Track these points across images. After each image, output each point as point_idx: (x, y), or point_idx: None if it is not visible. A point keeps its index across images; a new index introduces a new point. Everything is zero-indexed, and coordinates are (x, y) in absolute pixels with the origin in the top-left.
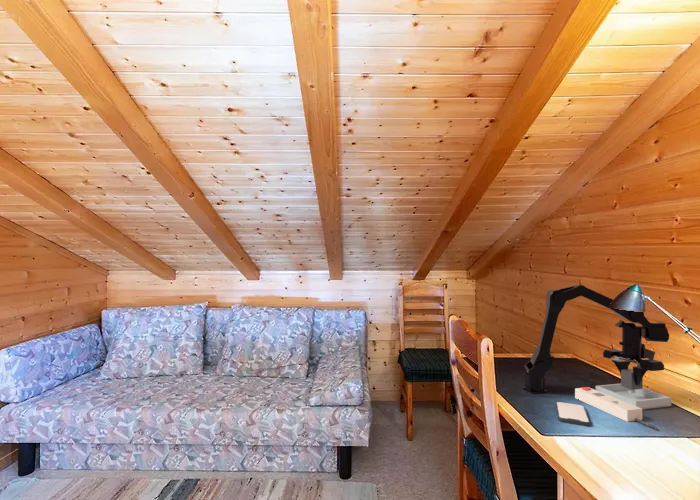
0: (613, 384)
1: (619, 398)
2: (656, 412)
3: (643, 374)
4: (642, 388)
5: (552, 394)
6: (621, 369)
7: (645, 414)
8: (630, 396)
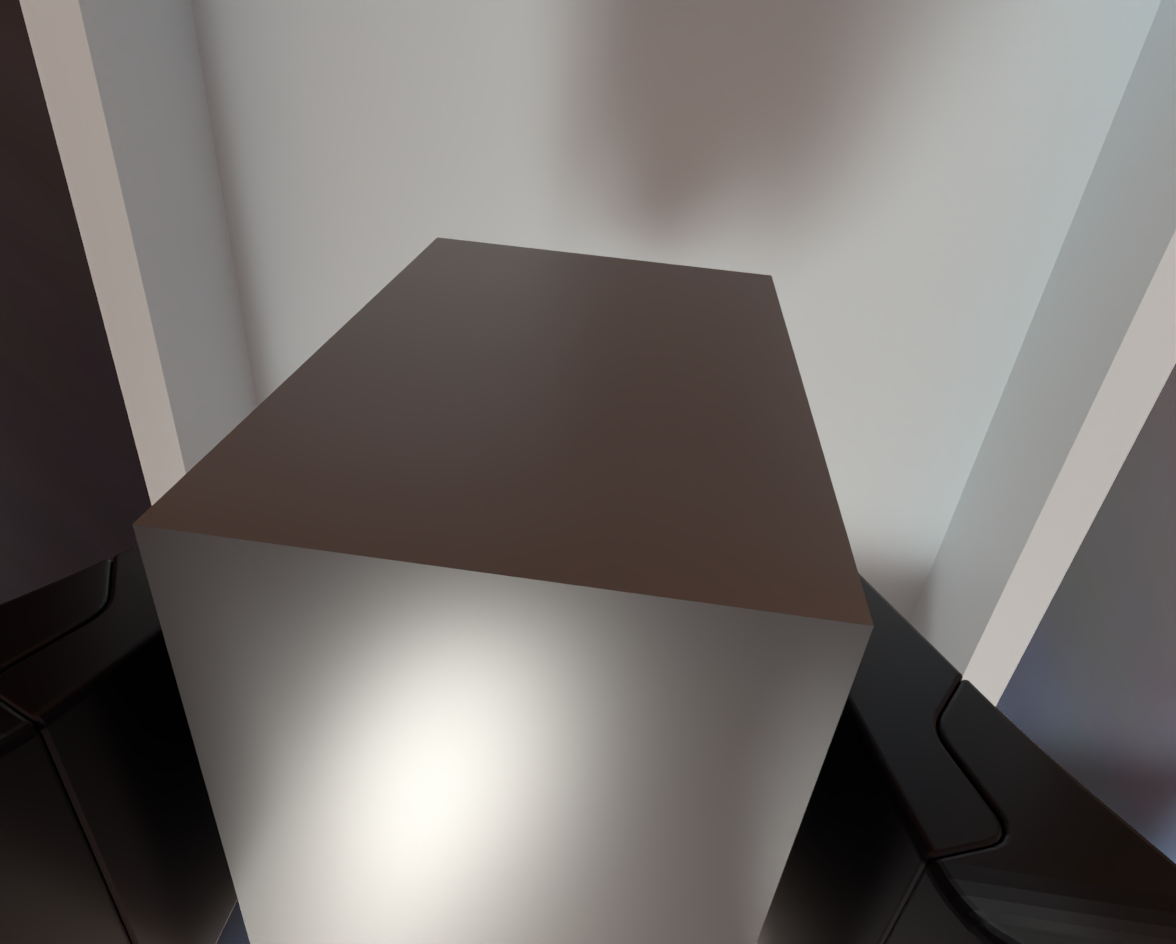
0: (125, 319)
1: None
2: (1139, 511)
3: (1042, 813)
4: (773, 286)
5: (244, 929)
6: (217, 924)
7: (1053, 699)
8: (519, 232)
